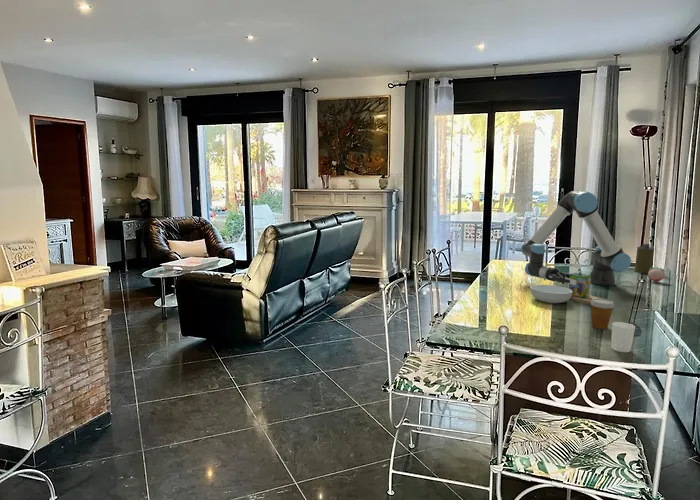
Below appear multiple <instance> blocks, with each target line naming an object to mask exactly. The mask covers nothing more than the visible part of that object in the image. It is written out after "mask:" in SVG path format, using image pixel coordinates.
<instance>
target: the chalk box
mask: <svg viewBox="0 0 700 500" xmlns="http://www.w3.org/2000/svg"><path fill="white" fill-rule="evenodd" d="M570 274H571V275H570V278H569V279H573V280H577V281H576V285H572V284H568V289H571V290H572V291H573V293H572V296H577V297H583V298H586V297H587V296H588V295H590V288H591V287H590V286H591V283H590V280H591V275H590V274H586V273H582V269H581V268H580V267H579V268H578V269H577V272H572V273H570Z"/></svg>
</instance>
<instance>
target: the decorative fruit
mask: <svg viewBox="0 0 700 500" xmlns="http://www.w3.org/2000/svg"><path fill="white" fill-rule="evenodd" d="M650 269H651V270H649V272H648V274H647V276H648V278H649V279H650V280H651V281H652V282H654V283H657V282H661V281H662V280H664V278H665V276H666V275H665V274H666V273H665V272H666V270H665V269H663V268H658V266H657V267H652V268H650Z"/></svg>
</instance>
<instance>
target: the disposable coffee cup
mask: <svg viewBox="0 0 700 500" xmlns="http://www.w3.org/2000/svg"><path fill="white" fill-rule="evenodd" d="M606 299H607V298H603V299H592V301H591V305H590V306H591V308H590V309H591V326H592V327H593V328H595V329H599V330H607V329H608V328H609V325H610V324H609V323H610V319H611V317H612V316H611V315H612V313H613V310H614V309H613V308H614V307H615V304H614V301H613V300H610V299H607V300H606Z"/></svg>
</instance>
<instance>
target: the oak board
mask: <svg viewBox="0 0 700 500" xmlns="http://www.w3.org/2000/svg"><path fill="white" fill-rule="evenodd" d="M592 299H604V298H602V297H599V296H594V295H591V294H589V295H588V296H587V297H586V298H583V297H577V296H571V298H570V299H569V301H573V302H577V303H580V304H584V305H587V306H591V301H592ZM605 299H606V300H608V299H607V298H605Z"/></svg>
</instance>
